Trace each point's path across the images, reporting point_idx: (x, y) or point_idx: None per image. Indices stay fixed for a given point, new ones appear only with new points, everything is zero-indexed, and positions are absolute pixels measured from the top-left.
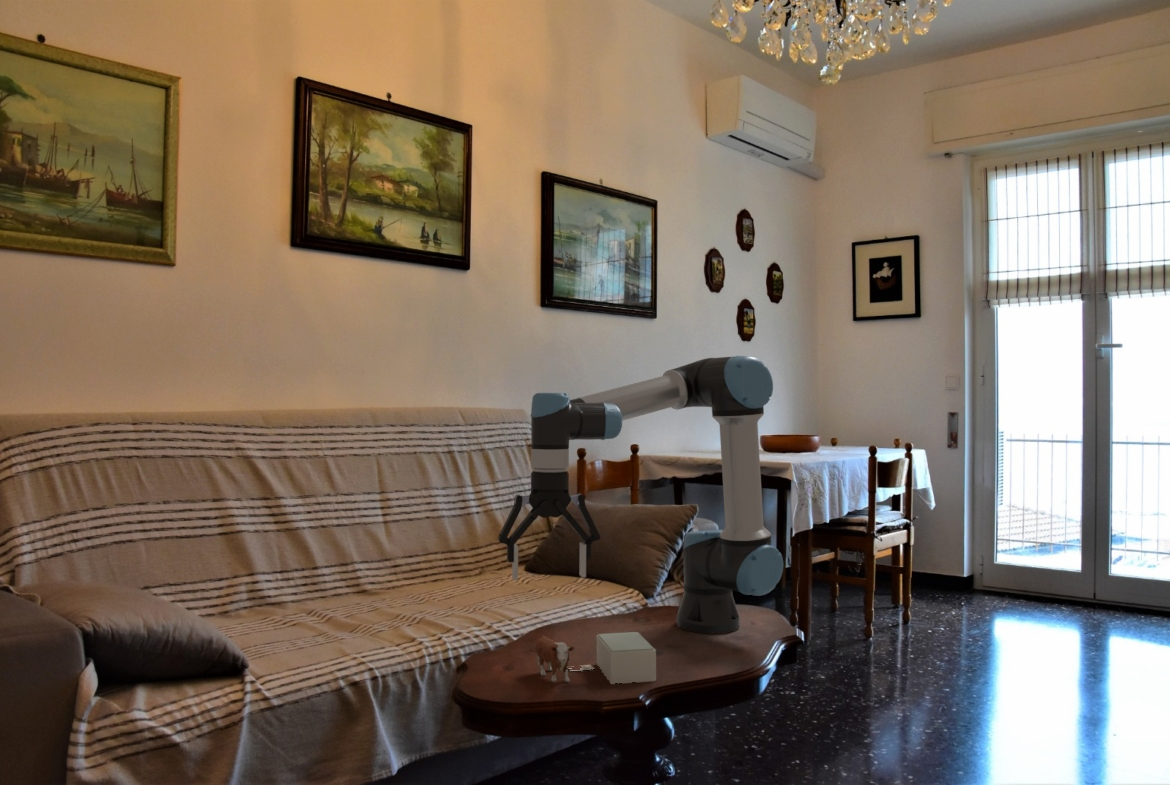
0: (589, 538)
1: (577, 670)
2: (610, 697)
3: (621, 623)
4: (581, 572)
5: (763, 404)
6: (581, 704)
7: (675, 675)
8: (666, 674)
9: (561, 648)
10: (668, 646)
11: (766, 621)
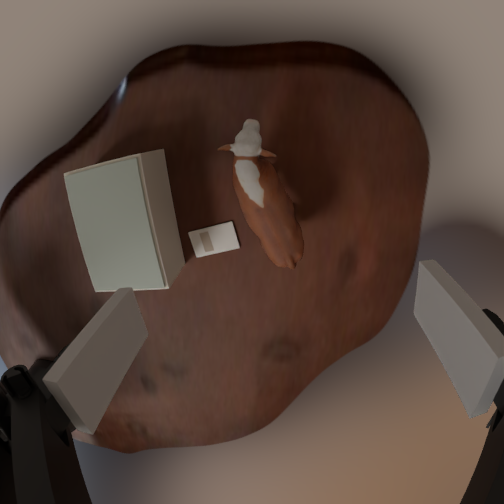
0: (14, 400)
1: (220, 226)
2: (171, 80)
3: (159, 425)
4: (129, 310)
5: None
6: (225, 46)
7: None
8: None
9: (250, 135)
10: None
11: None
